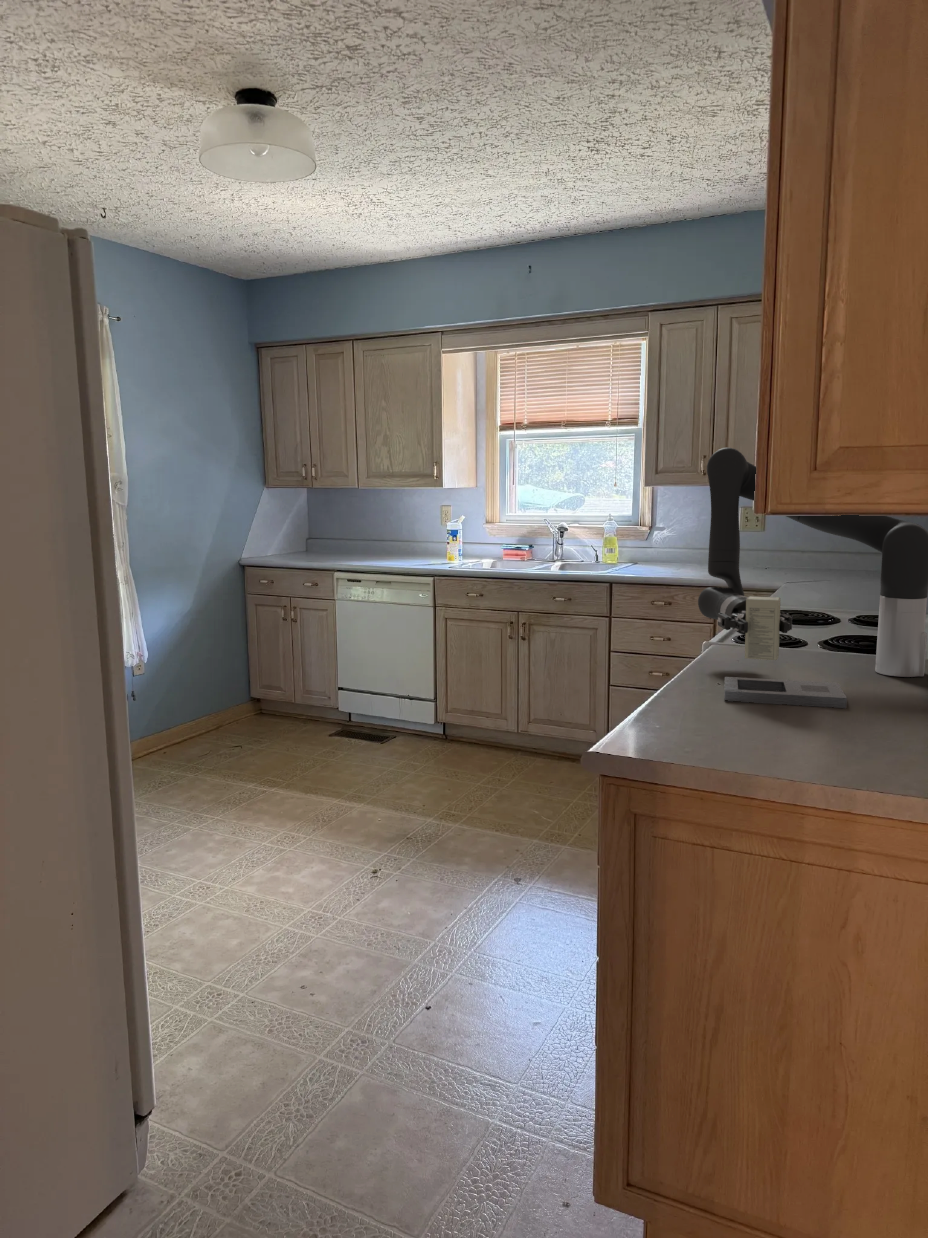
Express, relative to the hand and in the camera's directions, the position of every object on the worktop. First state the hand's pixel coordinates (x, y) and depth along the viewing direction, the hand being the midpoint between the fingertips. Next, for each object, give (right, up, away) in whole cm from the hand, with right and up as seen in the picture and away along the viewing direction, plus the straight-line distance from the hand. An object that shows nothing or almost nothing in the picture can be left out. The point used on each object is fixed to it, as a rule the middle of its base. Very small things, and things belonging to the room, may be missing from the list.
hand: (766, 627), depth 165 cm
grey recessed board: (+4, -14, +3) cm, 15 cm away
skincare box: (0, -6, +3) cm, 7 cm away
